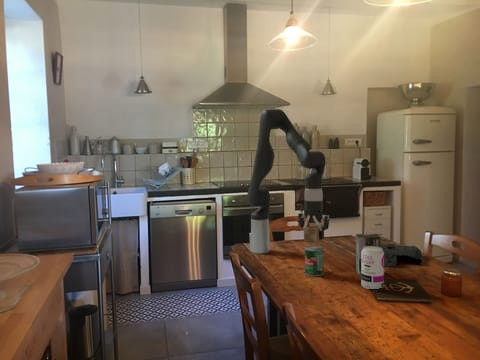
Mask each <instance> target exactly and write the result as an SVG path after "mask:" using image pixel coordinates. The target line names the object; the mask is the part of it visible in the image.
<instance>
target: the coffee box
mask: <svg viewBox="0 0 480 360" xmlns="http://www.w3.org/2000/svg"><path fill="white" fill-rule="evenodd" d="M355 243H356V244H355V254H356V255H355V260H356V261H355V265H356V266H355V267H356V269H355V270H356V272H357V274H358V275H359V276H361V252H362V250H363V247H366V246H376V247H380V244H381V236H380V235H379V234H378V233H356V235H355Z"/></svg>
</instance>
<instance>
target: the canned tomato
mask: <svg viewBox="0 0 480 360" xmlns="http://www.w3.org/2000/svg"><path fill="white" fill-rule="evenodd" d="M324 257H325V256H324V247H323V246H318V245H308V246H304V273H305V275H306V276H309V277H321V276H323V275H324V274H325V272H324V270H325V268H324V262H325V261H324Z"/></svg>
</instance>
